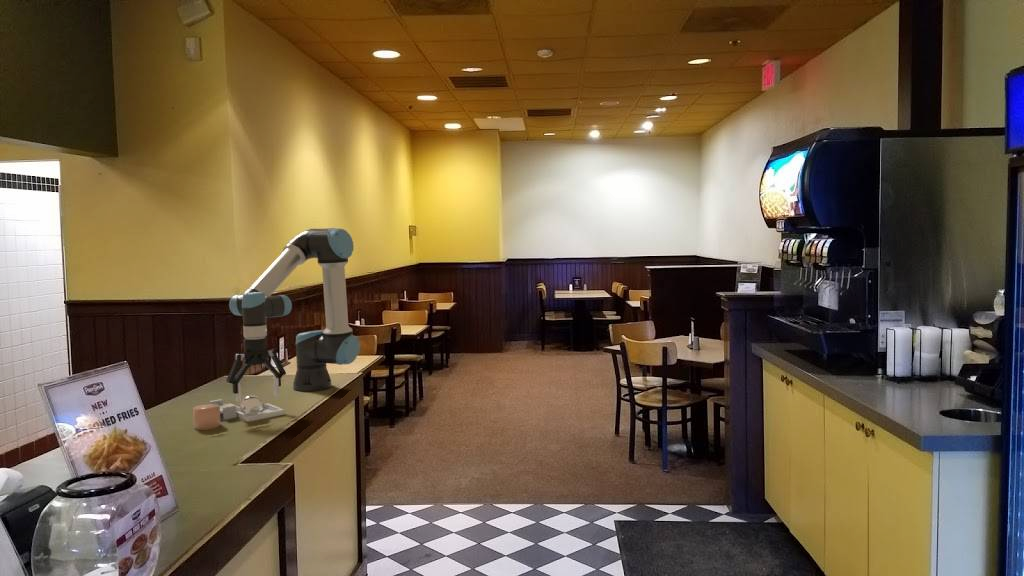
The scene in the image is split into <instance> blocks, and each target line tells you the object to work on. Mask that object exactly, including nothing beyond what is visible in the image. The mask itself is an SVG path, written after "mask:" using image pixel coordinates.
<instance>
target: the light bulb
mask: <svg viewBox="0 0 1024 576" xmlns="http://www.w3.org/2000/svg"><path fill="white" fill-rule="evenodd" d="M265 404H266V403H263V402H262V400H261V398H260V397H259V396H257V395H254V394H253V395H252V394H251V395H247V396H244V398H243V399H241V403H240V404H239V407H240V409H241V411H242V413H243V414H245V415H249V416H250V415H256V414H258V413H261V412H263V411H264V410H265Z"/></svg>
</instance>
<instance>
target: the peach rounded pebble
mask: <svg viewBox="0 0 1024 576" xmlns="http://www.w3.org/2000/svg"><path fill="white" fill-rule="evenodd" d="M192 415H193V416H192V417H193V419H192V422H193V429H194V430H196V431H197V430H198V431H203V430H204V431H207V430H212V429H217V428H219V427H221V425H222V424H221V422H222V421H221V422H220V405H217V404H209V403H208V404H201V405H196V406H194V407H193V408H192Z"/></svg>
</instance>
